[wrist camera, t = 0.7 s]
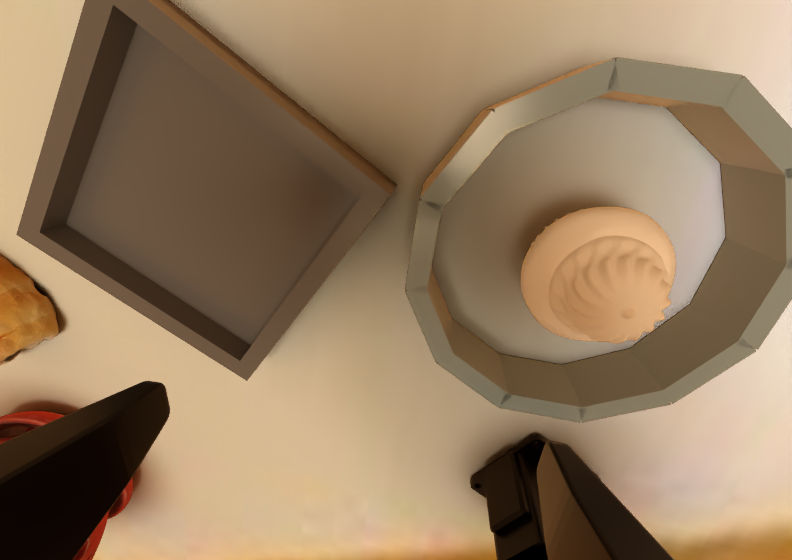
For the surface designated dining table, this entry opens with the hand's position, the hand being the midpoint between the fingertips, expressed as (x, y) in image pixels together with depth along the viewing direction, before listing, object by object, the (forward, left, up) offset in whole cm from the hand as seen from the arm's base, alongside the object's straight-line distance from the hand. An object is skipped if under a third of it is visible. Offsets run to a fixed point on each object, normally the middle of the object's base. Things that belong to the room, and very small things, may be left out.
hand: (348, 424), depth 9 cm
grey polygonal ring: (-7, -5, -13) cm, 15 cm away
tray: (+9, +5, -13) cm, 16 cm away
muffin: (-7, -5, -13) cm, 16 cm away
